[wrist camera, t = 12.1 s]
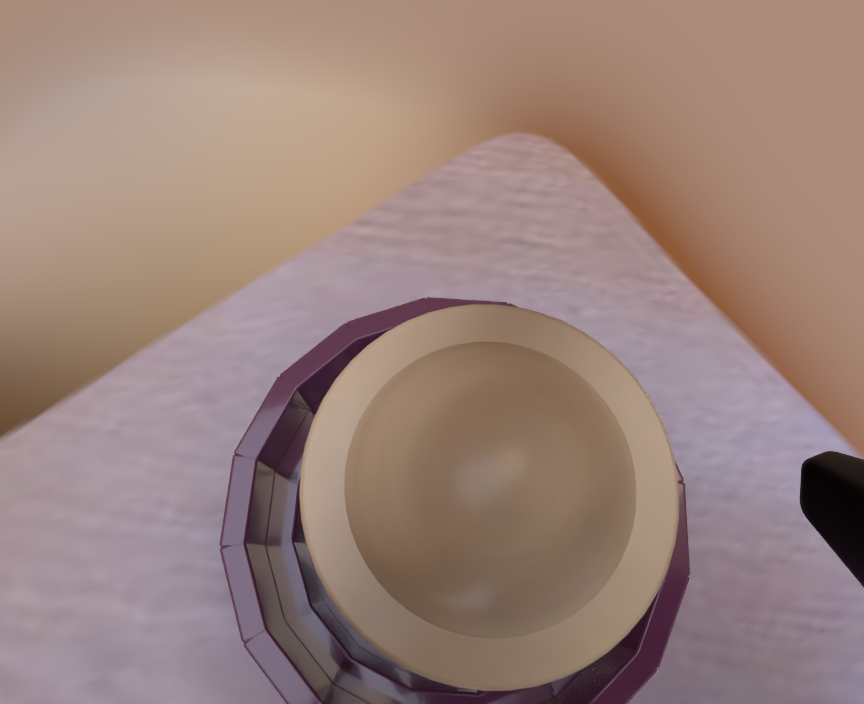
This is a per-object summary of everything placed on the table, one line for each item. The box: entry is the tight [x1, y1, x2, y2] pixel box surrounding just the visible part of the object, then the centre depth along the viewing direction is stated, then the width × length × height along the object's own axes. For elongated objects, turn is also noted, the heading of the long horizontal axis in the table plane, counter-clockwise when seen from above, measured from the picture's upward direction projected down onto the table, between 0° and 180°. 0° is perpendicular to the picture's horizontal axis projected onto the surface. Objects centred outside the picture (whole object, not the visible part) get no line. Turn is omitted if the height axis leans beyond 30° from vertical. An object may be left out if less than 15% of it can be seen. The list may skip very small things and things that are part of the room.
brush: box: [299, 304, 679, 691], centre depth 13 cm, size 5×5×13 cm
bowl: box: [220, 297, 690, 704], centre depth 18 cm, size 11×11×5 cm
